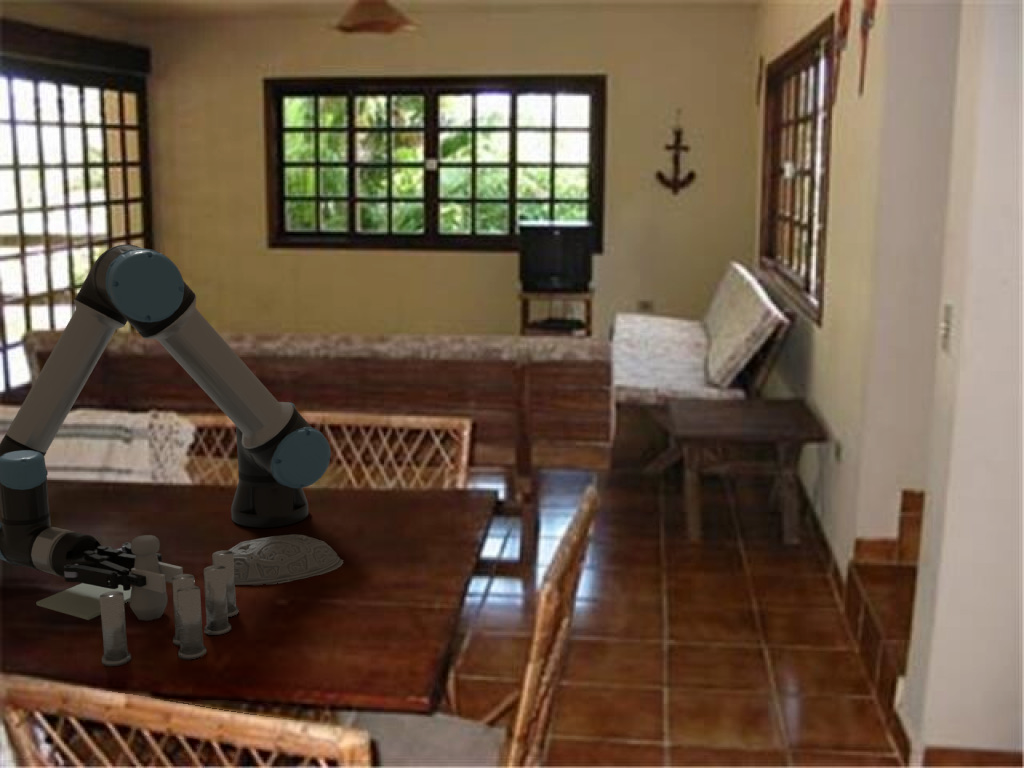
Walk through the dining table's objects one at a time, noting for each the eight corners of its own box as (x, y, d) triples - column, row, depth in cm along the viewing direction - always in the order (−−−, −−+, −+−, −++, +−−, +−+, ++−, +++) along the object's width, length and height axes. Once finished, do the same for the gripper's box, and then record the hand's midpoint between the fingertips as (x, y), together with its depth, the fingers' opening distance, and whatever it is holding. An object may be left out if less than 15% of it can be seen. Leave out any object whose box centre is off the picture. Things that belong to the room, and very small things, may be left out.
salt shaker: (133, 625, 178) (128, 546, 175) (127, 612, 183) (121, 534, 180) (172, 618, 181) (167, 540, 178) (165, 605, 186) (160, 529, 183)
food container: (194, 562, 204) (195, 527, 202) (331, 549, 215) (333, 516, 213) (210, 601, 191) (210, 565, 189) (355, 586, 201) (357, 551, 199)
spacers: (237, 607, 185) (234, 548, 183) (253, 650, 169) (250, 586, 167) (99, 626, 178) (94, 565, 176) (102, 673, 162) (97, 606, 160)
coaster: (95, 581, 196) (95, 577, 196) (146, 594, 190) (146, 590, 190) (36, 605, 186) (36, 601, 186) (88, 620, 180) (88, 616, 180)
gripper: (108, 560, 197) (210, 585, 185) (28, 591, 183) (134, 621, 172) (104, 518, 195) (208, 541, 184) (24, 547, 181) (131, 573, 170)
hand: (172, 580), depth 178 cm, fingers closed on salt shaker, 3 cm apart
